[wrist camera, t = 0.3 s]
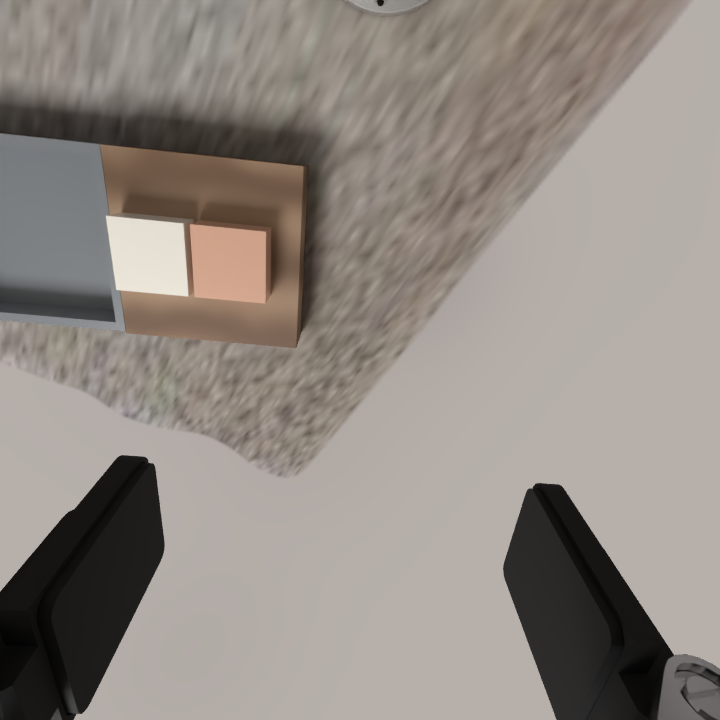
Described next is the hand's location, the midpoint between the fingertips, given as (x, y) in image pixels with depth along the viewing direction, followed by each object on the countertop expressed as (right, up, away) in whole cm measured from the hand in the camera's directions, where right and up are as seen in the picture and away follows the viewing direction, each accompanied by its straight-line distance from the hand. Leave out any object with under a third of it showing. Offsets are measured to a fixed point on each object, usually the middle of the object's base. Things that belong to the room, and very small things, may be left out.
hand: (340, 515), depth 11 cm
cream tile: (-17, +13, +26) cm, 34 cm away
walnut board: (-13, +15, +30) cm, 36 cm away
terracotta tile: (-10, +13, +27) cm, 31 cm away
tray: (-29, +16, +29) cm, 44 cm away
